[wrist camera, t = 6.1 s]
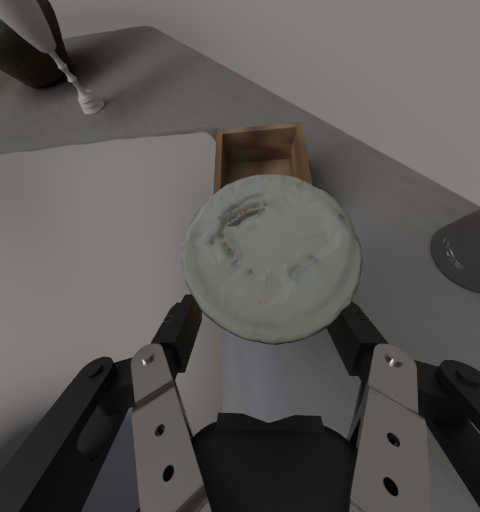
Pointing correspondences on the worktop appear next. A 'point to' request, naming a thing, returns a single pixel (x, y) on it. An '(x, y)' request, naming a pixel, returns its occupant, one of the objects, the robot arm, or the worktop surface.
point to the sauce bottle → (272, 259)
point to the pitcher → (32, 53)
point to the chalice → (43, 42)
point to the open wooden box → (260, 153)
